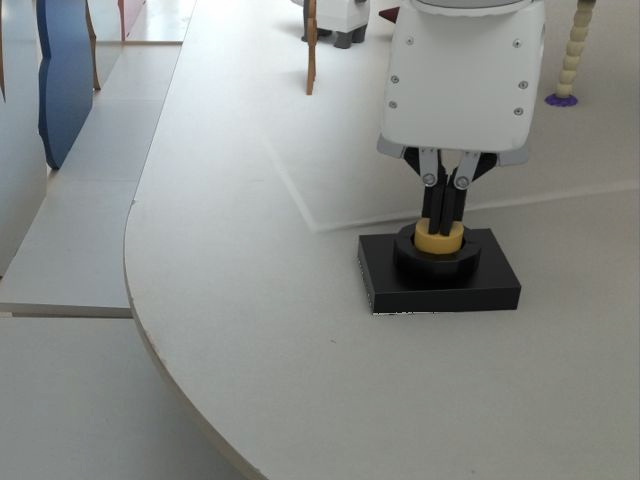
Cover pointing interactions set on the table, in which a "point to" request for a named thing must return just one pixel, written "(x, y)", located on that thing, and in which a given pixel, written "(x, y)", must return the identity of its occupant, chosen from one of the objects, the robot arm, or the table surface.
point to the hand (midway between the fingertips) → (441, 225)
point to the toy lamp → (572, 56)
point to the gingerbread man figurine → (311, 45)
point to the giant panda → (339, 19)
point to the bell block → (437, 274)
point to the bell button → (438, 238)
